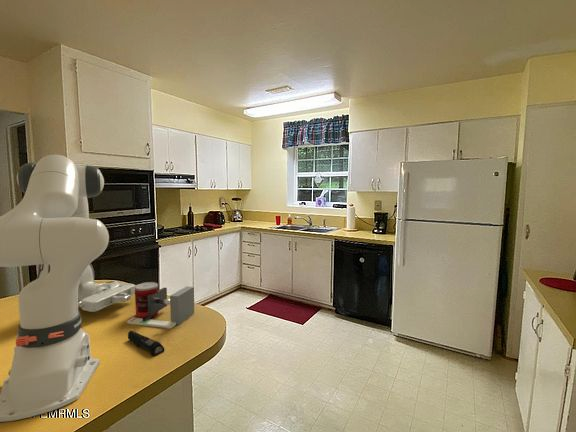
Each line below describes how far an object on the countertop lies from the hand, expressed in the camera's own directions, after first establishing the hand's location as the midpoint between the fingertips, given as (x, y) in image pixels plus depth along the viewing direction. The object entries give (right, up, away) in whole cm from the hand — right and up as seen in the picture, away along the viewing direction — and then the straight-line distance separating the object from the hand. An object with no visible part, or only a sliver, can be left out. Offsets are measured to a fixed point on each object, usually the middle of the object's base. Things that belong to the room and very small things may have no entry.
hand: (127, 298), depth 110 cm
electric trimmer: (+18, -8, -24) cm, 31 cm away
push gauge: (+15, -6, -5) cm, 17 cm away
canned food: (+8, -6, -2) cm, 10 cm away
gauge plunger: (+15, -4, -5) cm, 17 cm away
